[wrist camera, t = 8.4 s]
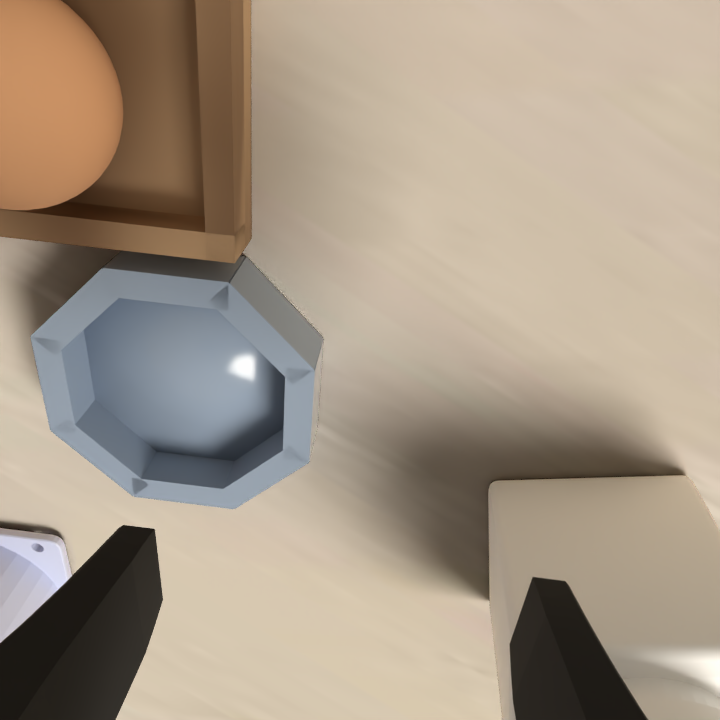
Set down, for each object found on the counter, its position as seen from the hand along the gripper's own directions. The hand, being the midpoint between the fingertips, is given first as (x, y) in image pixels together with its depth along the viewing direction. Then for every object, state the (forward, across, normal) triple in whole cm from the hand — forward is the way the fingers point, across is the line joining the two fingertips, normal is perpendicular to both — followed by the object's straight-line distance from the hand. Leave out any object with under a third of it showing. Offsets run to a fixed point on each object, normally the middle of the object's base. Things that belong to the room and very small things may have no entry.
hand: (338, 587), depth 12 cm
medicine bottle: (+10, -9, +8) cm, 16 cm away
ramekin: (+10, +6, +2) cm, 12 cm away
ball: (+9, +9, -7) cm, 14 cm away
